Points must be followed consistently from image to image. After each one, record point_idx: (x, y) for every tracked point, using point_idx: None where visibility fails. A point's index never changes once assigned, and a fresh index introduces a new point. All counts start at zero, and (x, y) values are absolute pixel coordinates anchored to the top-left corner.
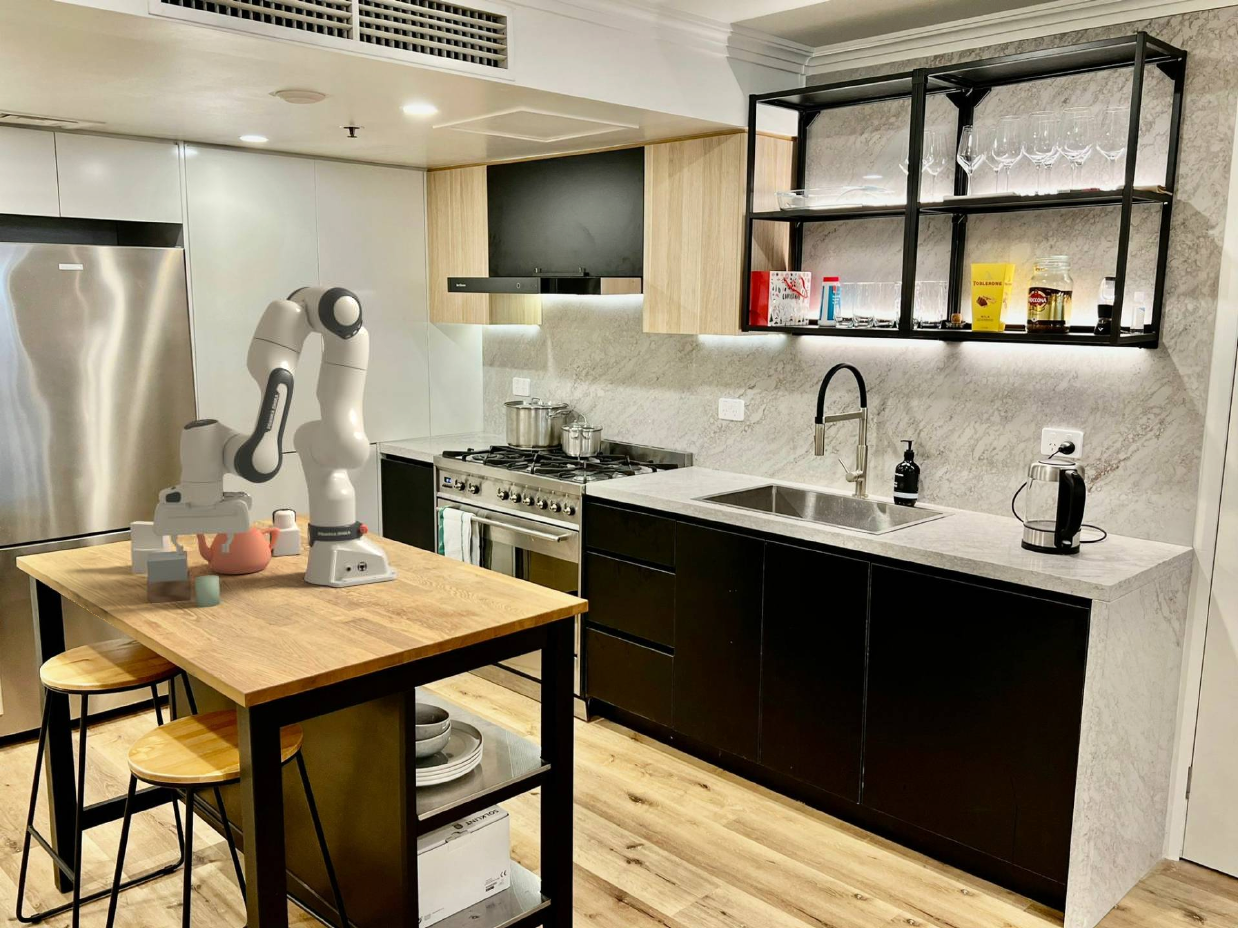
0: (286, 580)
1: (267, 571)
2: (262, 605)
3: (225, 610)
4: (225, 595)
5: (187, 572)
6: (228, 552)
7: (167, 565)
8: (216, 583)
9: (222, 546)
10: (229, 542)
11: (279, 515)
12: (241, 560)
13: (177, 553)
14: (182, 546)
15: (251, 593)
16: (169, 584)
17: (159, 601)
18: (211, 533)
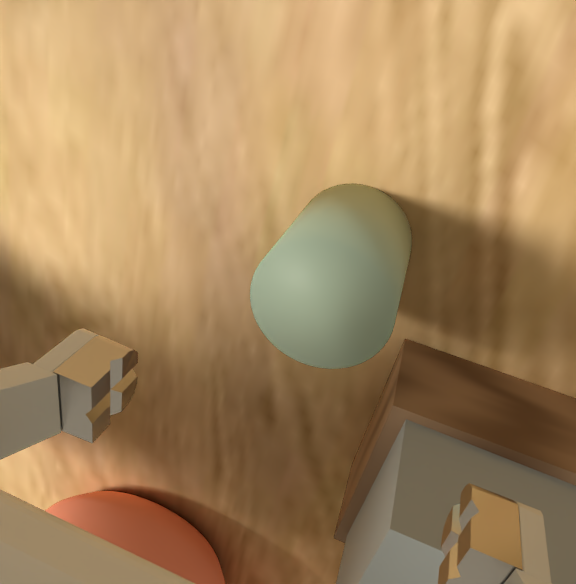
0: (20, 354)
1: (75, 477)
2: (125, 44)
3: (311, 57)
4: (250, 315)
5: (357, 516)
6: (88, 331)
7: None
8: (284, 235)
9: (94, 379)
10: (4, 377)
11: None
12: (119, 535)
13: (532, 512)
14: (464, 573)
15: (149, 277)
16: (502, 435)
17: (547, 394)
18: (85, 531)
